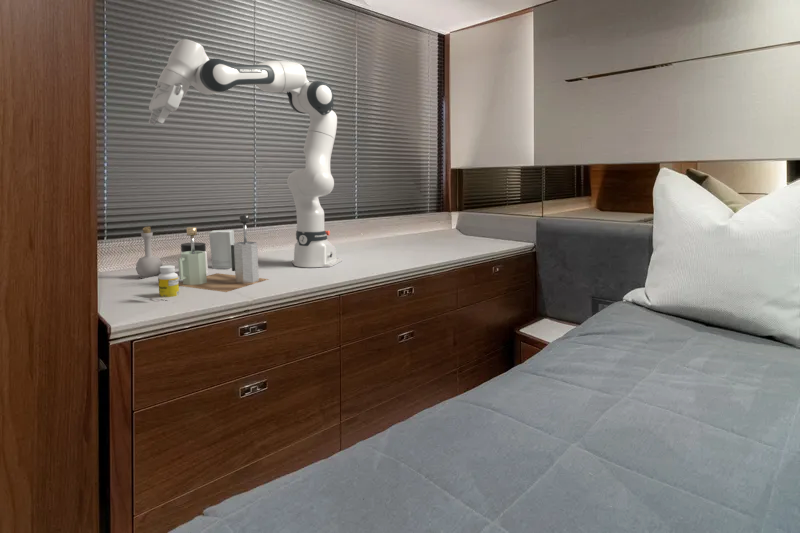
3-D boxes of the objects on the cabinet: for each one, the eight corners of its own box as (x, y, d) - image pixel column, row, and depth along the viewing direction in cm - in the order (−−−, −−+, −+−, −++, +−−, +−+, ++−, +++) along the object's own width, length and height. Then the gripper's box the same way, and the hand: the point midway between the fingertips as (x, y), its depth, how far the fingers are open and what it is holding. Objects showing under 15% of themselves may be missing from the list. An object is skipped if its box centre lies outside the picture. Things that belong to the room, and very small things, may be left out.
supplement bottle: (156, 298, 147) (153, 266, 145) (173, 295, 151) (171, 264, 149) (165, 302, 143) (162, 268, 142) (183, 298, 148) (180, 266, 146)
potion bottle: (169, 275, 180) (165, 226, 177) (151, 280, 172) (147, 228, 168) (149, 273, 182) (145, 225, 179) (130, 278, 174) (126, 227, 171)
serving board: (217, 276, 179) (217, 273, 179) (269, 282, 171) (269, 279, 170) (170, 288, 160) (170, 284, 160) (226, 295, 151) (226, 291, 151)
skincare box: (237, 266, 199) (235, 229, 196) (232, 269, 193) (230, 231, 190) (216, 266, 198) (214, 229, 196) (210, 269, 192) (208, 231, 190)
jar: (211, 274, 183) (209, 242, 180) (204, 279, 175) (202, 245, 172) (186, 274, 182) (183, 242, 179) (178, 279, 174) (176, 245, 171)
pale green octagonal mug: (195, 279, 168) (193, 250, 167) (211, 281, 166) (209, 251, 164) (172, 284, 160) (170, 254, 158) (189, 287, 157) (187, 256, 155)
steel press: (240, 277, 172) (238, 240, 170) (262, 280, 168) (261, 242, 166) (225, 281, 166) (223, 243, 163) (248, 284, 162) (246, 245, 160)
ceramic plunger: (193, 256, 165) (191, 226, 163) (204, 257, 163) (202, 227, 162) (182, 258, 161) (180, 227, 159) (193, 260, 159) (191, 228, 157)
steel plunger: (244, 247, 168) (243, 214, 166) (256, 248, 166) (254, 215, 164) (235, 249, 163) (233, 215, 161) (246, 250, 161) (245, 216, 159)
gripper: (193, 87, 156) (175, 126, 154) (172, 94, 171) (156, 129, 169) (173, 75, 151) (154, 115, 150) (154, 83, 167) (137, 119, 165)
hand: (155, 123), depth 160 cm, fingers open, 8 cm apart
